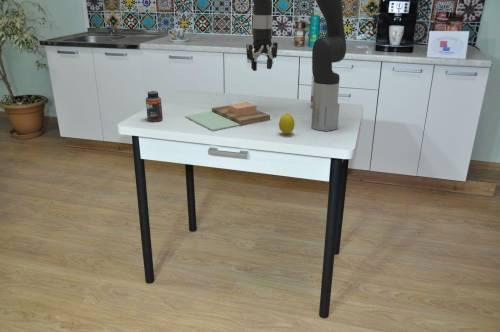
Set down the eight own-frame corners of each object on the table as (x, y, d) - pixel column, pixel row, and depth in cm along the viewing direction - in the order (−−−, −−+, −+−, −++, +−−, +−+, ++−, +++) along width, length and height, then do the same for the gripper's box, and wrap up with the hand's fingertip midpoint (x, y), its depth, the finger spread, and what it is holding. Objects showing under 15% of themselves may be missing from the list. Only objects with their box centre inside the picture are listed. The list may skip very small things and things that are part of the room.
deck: (270, 120, 187) (270, 115, 187) (240, 125, 180) (240, 120, 179) (239, 107, 204) (239, 103, 204) (211, 112, 197) (211, 108, 196)
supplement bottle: (161, 117, 190) (159, 89, 186) (163, 121, 185) (161, 93, 181) (146, 118, 189) (144, 90, 184) (148, 122, 183) (146, 94, 179)
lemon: (293, 132, 173) (293, 111, 170) (294, 137, 168) (295, 115, 165) (278, 132, 173) (278, 111, 170) (279, 137, 168) (280, 115, 165)
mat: (239, 125, 180) (239, 124, 180) (212, 131, 174) (212, 129, 173) (211, 112, 197) (211, 111, 197) (185, 117, 191) (185, 115, 190)
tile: (256, 111, 192) (256, 105, 191) (237, 114, 187) (237, 108, 186) (246, 107, 197) (246, 101, 196) (228, 110, 192) (228, 104, 191)
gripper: (252, 28, 178) (252, 73, 184) (282, 26, 186) (281, 69, 192) (241, 27, 184) (241, 70, 190) (271, 25, 191) (270, 66, 198)
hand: (261, 69), depth 191 cm, fingers open, 6 cm apart
